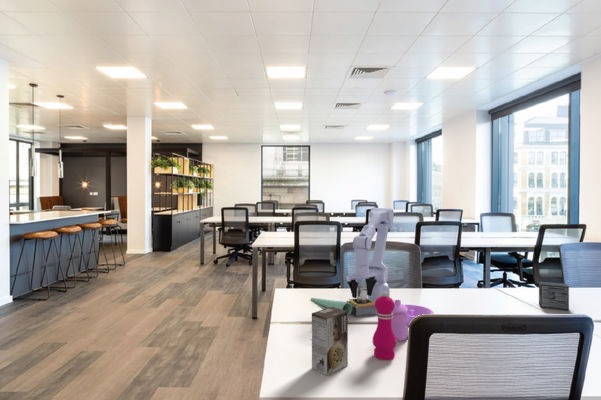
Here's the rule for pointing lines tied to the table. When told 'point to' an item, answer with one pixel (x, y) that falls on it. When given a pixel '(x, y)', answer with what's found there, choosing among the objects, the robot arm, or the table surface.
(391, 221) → the robot arm
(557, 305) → the small box
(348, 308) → the mint green cylinder
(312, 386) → the table surface
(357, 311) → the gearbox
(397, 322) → the container set
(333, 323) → the grey cardboard box
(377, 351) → the pepper mill
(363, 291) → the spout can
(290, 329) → the table surface
